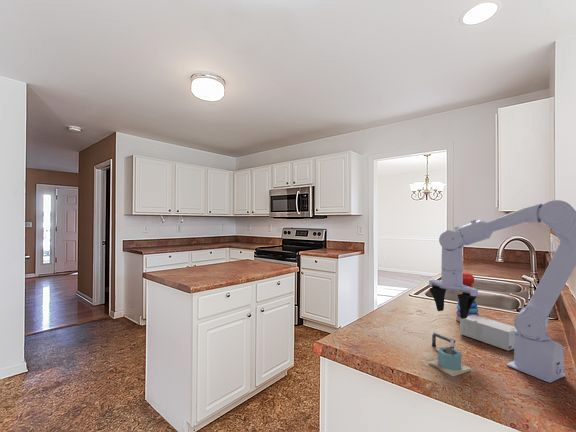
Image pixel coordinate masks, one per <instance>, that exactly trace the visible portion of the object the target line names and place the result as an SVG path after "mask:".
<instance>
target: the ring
mask: <svg viewBox="0 0 576 432" xmlns="http://www.w3.org/2000/svg"><path fill="white" fill-rule="evenodd" d="M446 347H447V346H444V347H443V346H442V347H438V350H437V351H438V352H437V359H438V364H439V365H440V366H442V367H443V368H446V369H450V370H461V364H462V352H461V351H459V350H457V349H455V348H454V349H452V354H447V353H446Z"/></svg>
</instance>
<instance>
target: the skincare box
mask: <svg viewBox="0 0 576 432" xmlns="http://www.w3.org/2000/svg"><path fill="white" fill-rule="evenodd" d="M459 323H460V324H459V335H462V336H464V337H469V338H471V339H474V340H477V341H480V342H481V343H485V344H488V345H490V346H494V347H497V348H499V349H502V350H505V351H507V352H508V351H511V350H514V329H516V328H515V326H514V325H510V324H506V323H504V322H500V321H497V320H494V319H490V318H486V317H482V316H480V315H479V316H476V315H471V316H467V318H465V319H462V318H460V322H459Z"/></svg>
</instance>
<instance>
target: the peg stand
mask: <svg viewBox="0 0 576 432" xmlns="http://www.w3.org/2000/svg"><path fill="white" fill-rule="evenodd" d="M445 347H446V353H447V354H452V348H451V347H450V346H445ZM428 365H430V366H432V368H433V367H434V368H436V369H437V370H440V371H441V372H443V373H445V374H446V375H449V376H452V377H457V376H459V375H462V374H464V373H468V372H470V371H472V368H471V367H469V366H467V365H465V364H462V363H461V370H450V369H446V368H443V367H442V366H440V365H439V364H438V358H436V359H434V360H431V361H430V360H429V361H428Z"/></svg>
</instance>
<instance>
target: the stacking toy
mask: <svg viewBox="0 0 576 432" xmlns="http://www.w3.org/2000/svg"><path fill="white" fill-rule="evenodd" d="M474 283H475V277H474V275H473V274H472V273H470V272H463V285H466V286H469V287H472V288H475V286H474V285H473V284H474ZM459 294H462V293H460V292H458V295H459ZM478 312H479V307H478V302H477V298H476V299H475V300H474V302H473V303H472V305H471V307H470V310H469V312H468V316H471V315H476V316H479V317H480V313H478ZM460 318H461V317H460V303H459V299H458V300H457V305H456V316H455V320H456V321H457V322H459V323H460Z"/></svg>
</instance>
